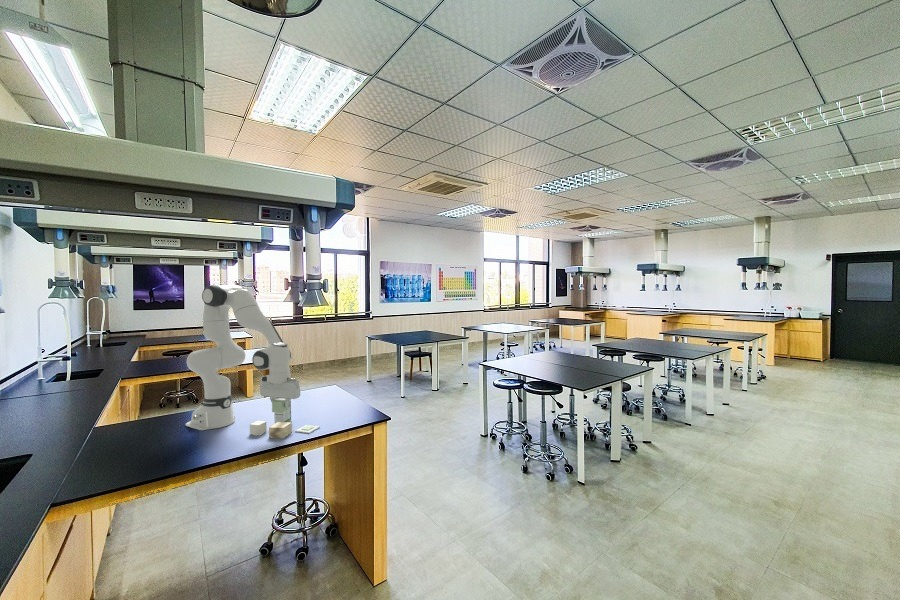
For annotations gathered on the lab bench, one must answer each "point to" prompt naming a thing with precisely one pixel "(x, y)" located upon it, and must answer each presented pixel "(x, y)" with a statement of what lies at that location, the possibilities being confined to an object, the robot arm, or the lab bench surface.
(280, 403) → the sage block
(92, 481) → the lab bench surface
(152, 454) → the lab bench surface
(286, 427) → the birch base block
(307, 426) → the tile
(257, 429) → the off-white block
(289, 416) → the syrup box
